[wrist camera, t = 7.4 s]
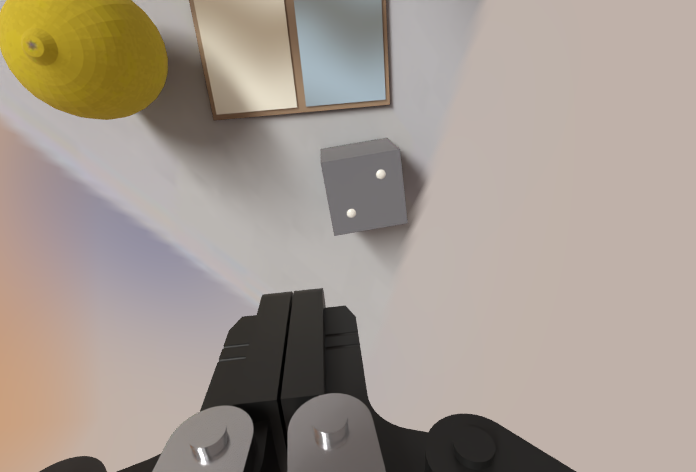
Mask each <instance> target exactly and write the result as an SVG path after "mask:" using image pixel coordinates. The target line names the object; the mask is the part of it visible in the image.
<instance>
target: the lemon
mask: <svg viewBox="0 0 696 472" xmlns="http://www.w3.org/2000/svg"><path fill="white" fill-rule="evenodd" d="M0 48H1V52H2V55H3V57H4V59H5V61H6V63H7V65H8V67H9V69H10V70H11V72H12V73H13V74H14V75H15V77H16V78H17V79H18V80H19V82H20V83H21V84H22V85H23V86H24V87H25V88H26V89H27V90H28V91H30V92H31V93H32V94H33V95H34V96H35V97H37V98H38V99H40V100H42V101H43V102H45V103H47V104H49V105H50V106H52V107H54V108H55V109H58V110H61V111H64V112H67V113H70V114H73V115H76V116H79V117H84V118H93V119H105V120H108V119H116V118H122V117H127V116H130V115H133V114H135V113H137V112H139V111H141V110H143V109H145V108H146V107H148V106H149V105H150V104H151V103H152V102H153V101H154V100H155V99H156V98H157V97H158V95H159V94H160V92H161V90H162V88H163V87H164V85H165V81H166V77H167V73H168V57H167V53H166V49H165V44H164V42H163V40H162V37H161V35H160V33H159V31H158V29H157V27H156V26H155V25H154V23H153V22H152V21H151V19H150V18H149V17H148V16H147V14H146V13H145V12H144V11H143V10H142V9H141V8H140V7H139V6H137V5H136V4H135V3H134V2H133V1H132V0H7V1H6V2H5V4H4V5H3V7H2V9H1V12H0Z"/></svg>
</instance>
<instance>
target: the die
mask: <svg viewBox="0 0 696 472" xmlns="http://www.w3.org/2000/svg"><path fill="white" fill-rule="evenodd" d="M321 166H322V172H323V177H324V183H325V188H326V193H327V199H328V204H329V210H330V215H331V220H332V226H333V231H334V236H336V235H342V234H348V233H354V232H359V231H365V230H371V229H377V228H383V227H389V226H394V225H400V224H406V223H408V222H407V212H406V203H405V193H404V183H403V174H402V164H401V155H400V149H399V148H398V147H397V146H396V145H395V144H394V143H392V142H391V141H390V140H389V139H388V138H383V139H377V140H371V141H365V142H359V143H353V144H348V145H342V146H336V147H330V148H324V149H321Z"/></svg>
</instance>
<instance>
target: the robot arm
mask: <svg viewBox="0 0 696 472" xmlns="http://www.w3.org/2000/svg"><path fill="white" fill-rule="evenodd" d="M40 472H107V471H106V468H105V466H104V465H103V463H102V462H101V461H99V460H98V459H96V458H93V457H88V456H80V457H74V458H69V459H66V460H63V461H60V462H57V463H55V464H53V465H51V466H49V467H47V468H45V469H43V470H42V471H40ZM117 472H576V471H574V470H572V469H571V468H569V467H568V466H566V465H564V464H563V463H561V462H559V461H558V460H556V459H555V458H553V457H551V456H550V455H548V454H546V453H545V452H543V451H541V450H540V449H538V448H537V447H535V446H533V445H532V444H530V443H529V442H527V441H525V440H524V439H522V438H520V437H519V436H517V435H515V434H514V433H512V432H511V431H509V430H507V429H506V428H504V427H503V426H501V425H499V424H498V423H496V422H494V421H492V420H490V419H487V418H485V417H482V416H478V415H473V414H455V415H451V416H448V417H445V418H443V419H441V420H439V421H438V422H437V423H436V424H434V425H433V427H432V428H431V429H430V431H429V433H428V432H423V431H417V430H411V429H406V428H402V427H398V426H396V425H393V424H391V423H389V422H387V421H386V420H384V419H383V418H382V417H380V416H379V415H378V414H377V413H376V412H375V411H374V409H373V408H372V406H371V404H370V402H369V400H368V396H367V390H366V383H365V376H364V369H363V363H362V356H361V349H360V343H359V336H358V329H357V323H356V317H355V316H354V315H353V313H352V312H351V311H350V310H349V309H348V308H347V307H346V306H338V307H328V308H326V307H325V299H324V291H323V288H320V289H310V290H301V291H294V294H293V292H283V293H273V294H264V295H262V298H261V301H260V305H259V309H258V313H257V315H254V316H245V317H242V318H241V319H240V320H239V321H238V322H237V323H236V324H235V325H234V326H233V327H232V328H231V329H230V330H229V333H228V335H227V338H226V341H225V343H224V349H222V352H221V355H220V358H219V362H218V363H217V366H216V368H215V371H214V374H213V377H212V380H211V383H210V385H209V388H208V391H207V393H206V396H205V399H204V402H203V405H202V408H201V410H200V412H199V413H197V414H195V415H193V416H192V417H190V418H188V419H187V420H186V421H184V422H183V423H182V424H181V425H180V426H179V427H178V428H177V429H176V430H175V431H174V432H173V434H172V435H171V437H170V438H169V440H168V442H167V443H166V446H165V447H164V449H163V451H162V453H161V454H159V455H157V456H155V457H153V458H151V459H148V460H146V461H143V462H141V463H138V464H135V465H133V466H130V467H128V468H125V469H123V470H120V471H117Z"/></svg>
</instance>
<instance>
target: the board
mask: <svg viewBox="0 0 696 472" xmlns="http://www.w3.org/2000/svg"><path fill="white" fill-rule="evenodd" d="M189 3H190V7H191V12H192V17H193V22H194V27H195V32H196V37H197V41H198V46H199V51H200V56H201V61H202V66H203V71H204V76H205V80H206V85H207V90H208V95H209V100H210V105H211V110H212V114H213V119H214V120H224V119H235V118H246V117H257V116H269V115H280V114H291V113H302V112H313V111H324V110H335V109H346V108H357V107H368V106H379V105H390V96H389V69H388V42H387V16H386V0H189Z"/></svg>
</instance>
